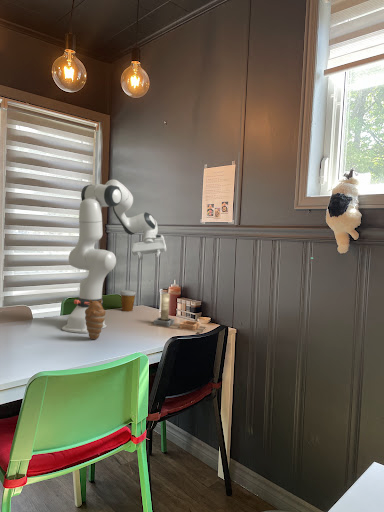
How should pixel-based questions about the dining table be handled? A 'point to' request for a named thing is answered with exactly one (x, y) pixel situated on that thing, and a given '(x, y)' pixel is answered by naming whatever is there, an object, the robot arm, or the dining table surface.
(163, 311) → the peg
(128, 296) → the disposable coffee cup
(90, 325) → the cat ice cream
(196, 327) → the rail board
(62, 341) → the dining table surface
